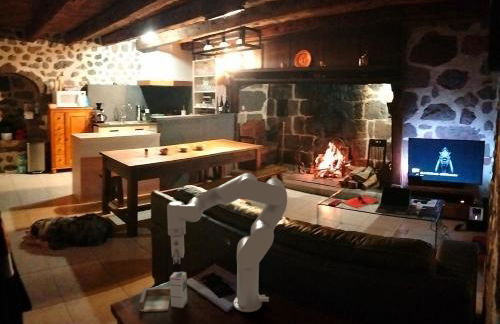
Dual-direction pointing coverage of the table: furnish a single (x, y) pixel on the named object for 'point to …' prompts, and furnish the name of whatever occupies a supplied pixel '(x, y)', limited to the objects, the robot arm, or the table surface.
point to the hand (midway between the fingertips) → (177, 266)
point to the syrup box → (178, 289)
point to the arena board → (155, 299)
